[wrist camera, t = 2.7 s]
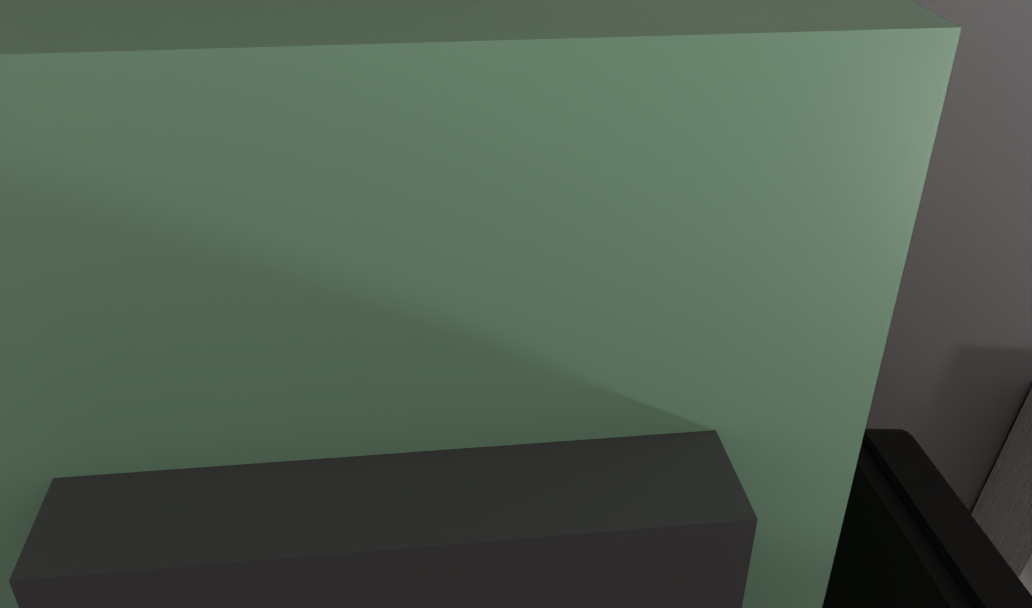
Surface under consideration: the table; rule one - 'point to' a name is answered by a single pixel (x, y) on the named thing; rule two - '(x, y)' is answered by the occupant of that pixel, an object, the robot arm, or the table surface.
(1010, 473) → the chassis
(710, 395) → the module
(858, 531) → the robot arm
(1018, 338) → the table surface
